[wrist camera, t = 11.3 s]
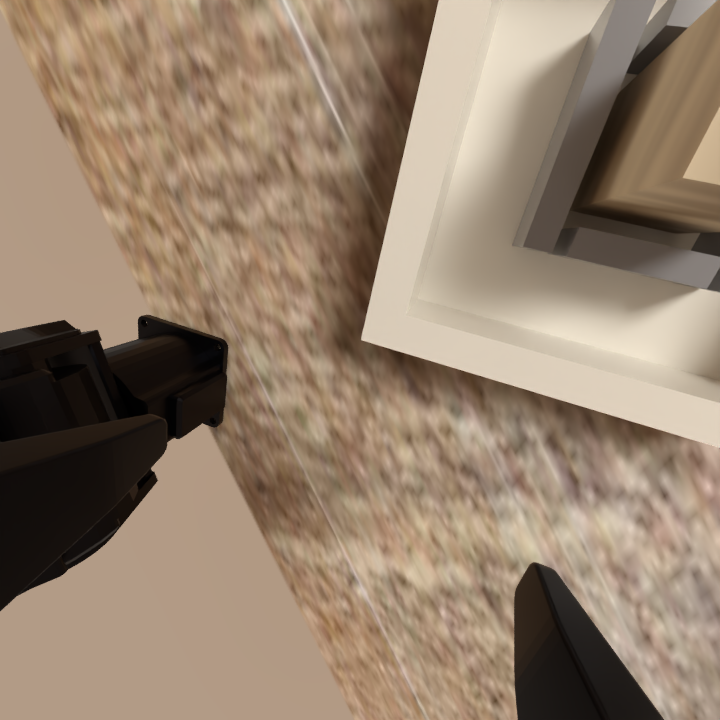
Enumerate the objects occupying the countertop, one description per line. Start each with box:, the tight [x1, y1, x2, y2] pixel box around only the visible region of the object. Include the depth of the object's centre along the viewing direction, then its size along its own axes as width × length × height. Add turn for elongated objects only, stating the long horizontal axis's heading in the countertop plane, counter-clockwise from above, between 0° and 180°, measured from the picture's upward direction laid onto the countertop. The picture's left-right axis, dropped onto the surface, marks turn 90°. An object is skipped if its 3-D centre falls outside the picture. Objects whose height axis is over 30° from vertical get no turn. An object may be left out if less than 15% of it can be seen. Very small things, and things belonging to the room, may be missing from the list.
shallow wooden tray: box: [361, 0, 720, 448], centre depth 12 cm, size 17×17×5 cm
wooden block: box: [570, 0, 720, 234], centre depth 9 cm, size 4×4×8 cm
